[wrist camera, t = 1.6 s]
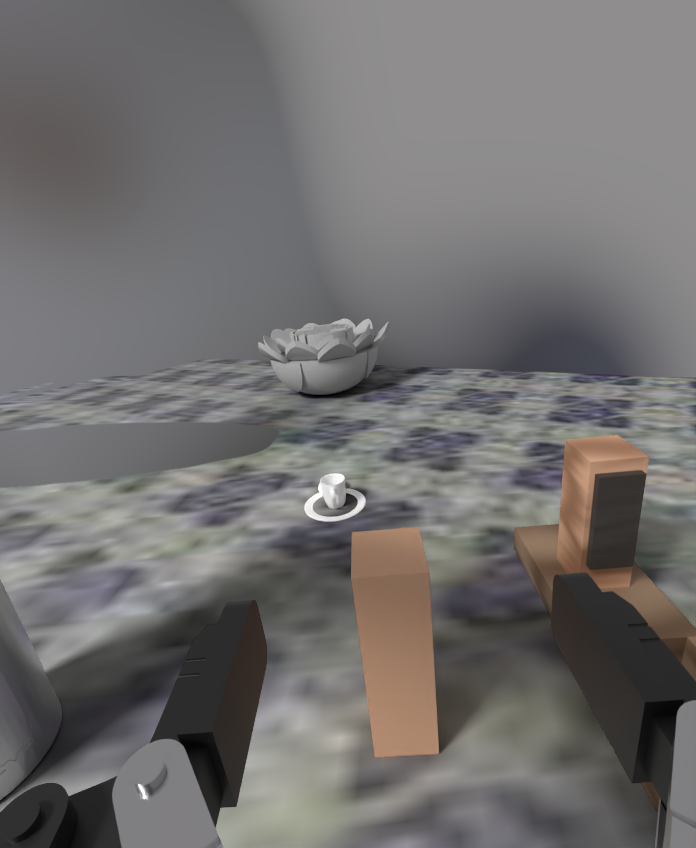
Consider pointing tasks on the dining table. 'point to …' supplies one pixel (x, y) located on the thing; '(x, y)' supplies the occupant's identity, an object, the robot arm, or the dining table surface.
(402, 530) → the tall tan pillar block
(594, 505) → the rail
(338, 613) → the dining table surface
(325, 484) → the teacup and saucer
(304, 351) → the decorative bowl
